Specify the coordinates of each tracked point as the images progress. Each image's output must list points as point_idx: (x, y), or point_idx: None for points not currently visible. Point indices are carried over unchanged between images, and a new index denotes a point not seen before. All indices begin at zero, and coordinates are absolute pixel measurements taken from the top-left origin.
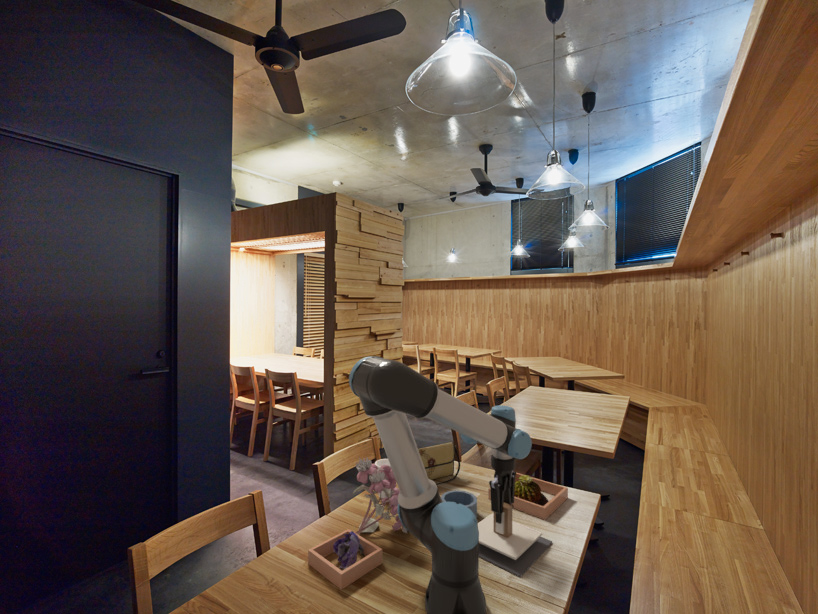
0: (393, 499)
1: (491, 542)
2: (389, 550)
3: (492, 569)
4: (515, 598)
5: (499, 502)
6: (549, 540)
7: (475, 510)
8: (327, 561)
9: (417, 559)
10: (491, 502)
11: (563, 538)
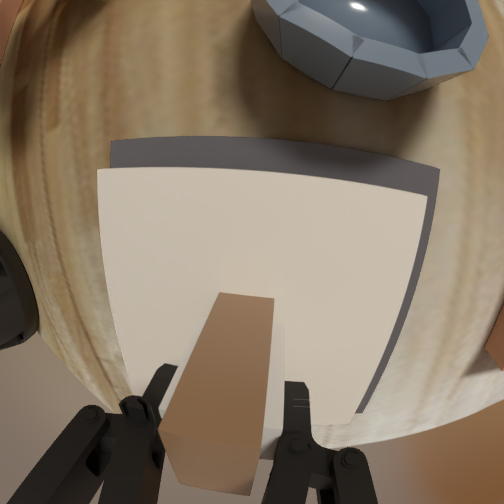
0: None
1: (135, 314)
2: (25, 42)
3: (107, 314)
4: (87, 374)
5: (90, 493)
6: (363, 408)
7: (391, 86)
8: None
9: (21, 114)
10: (50, 451)
11: (397, 416)
